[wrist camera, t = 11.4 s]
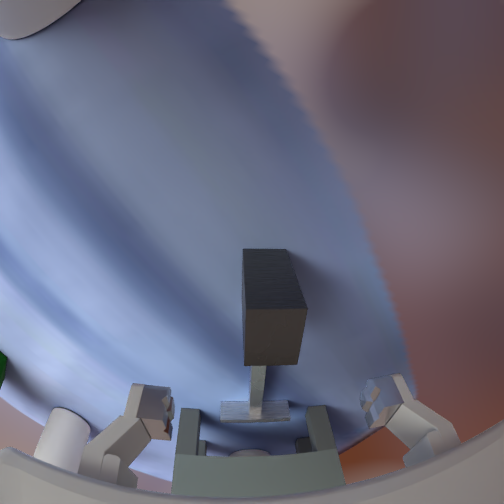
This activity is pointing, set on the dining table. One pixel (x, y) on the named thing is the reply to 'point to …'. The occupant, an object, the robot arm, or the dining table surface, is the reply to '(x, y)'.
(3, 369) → the milk carton
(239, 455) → the coaster
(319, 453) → the cabinet
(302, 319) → the block
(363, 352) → the dining table surface
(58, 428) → the can
